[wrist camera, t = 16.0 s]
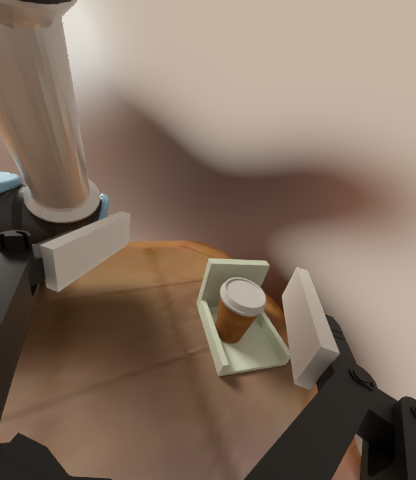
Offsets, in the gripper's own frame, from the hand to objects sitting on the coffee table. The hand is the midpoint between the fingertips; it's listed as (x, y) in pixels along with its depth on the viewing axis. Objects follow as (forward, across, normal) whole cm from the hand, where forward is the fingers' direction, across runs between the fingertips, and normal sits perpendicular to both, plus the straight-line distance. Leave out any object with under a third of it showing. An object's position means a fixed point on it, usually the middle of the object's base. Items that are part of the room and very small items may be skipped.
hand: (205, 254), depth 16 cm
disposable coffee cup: (+21, +7, -29) cm, 37 cm away
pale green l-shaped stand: (+22, +9, -30) cm, 38 cm away
